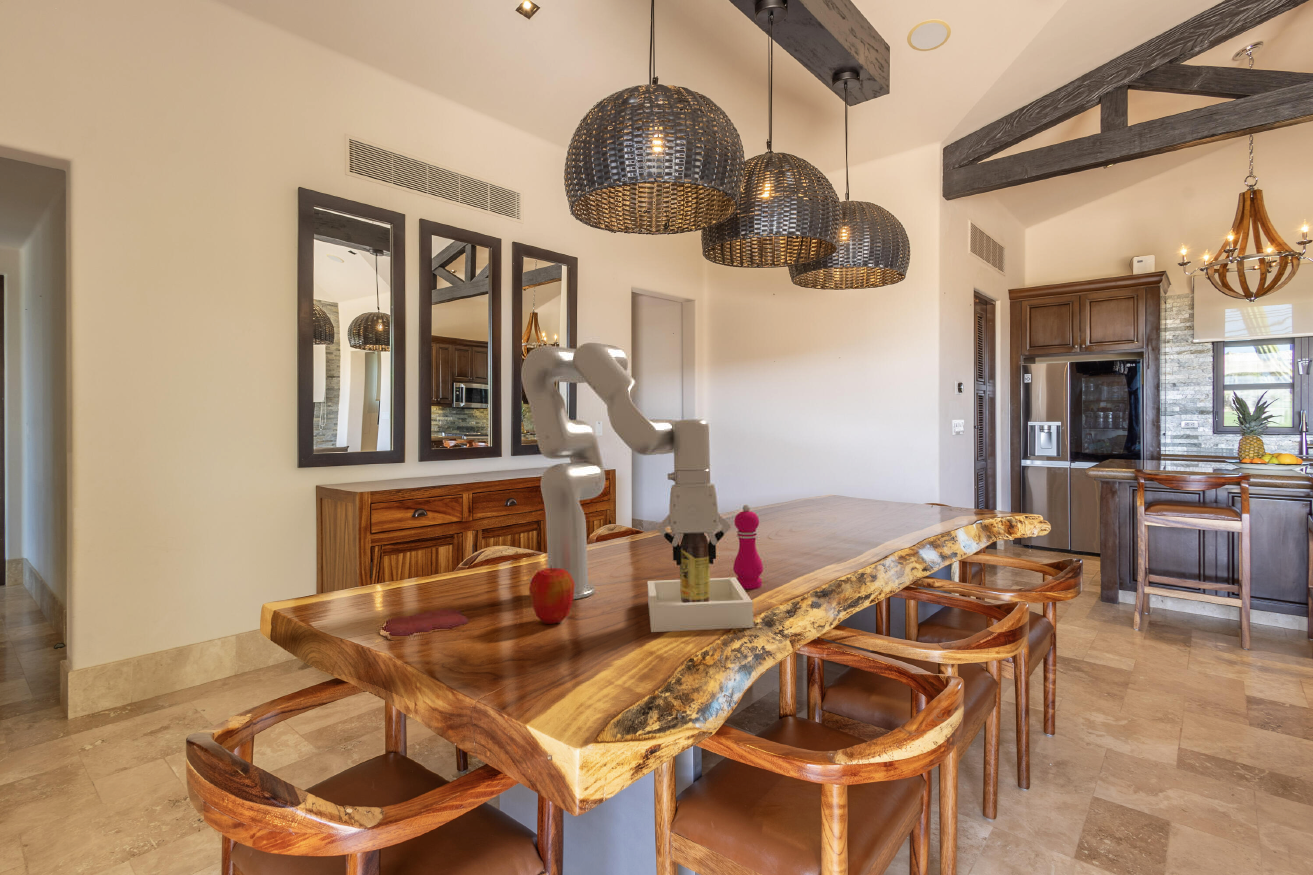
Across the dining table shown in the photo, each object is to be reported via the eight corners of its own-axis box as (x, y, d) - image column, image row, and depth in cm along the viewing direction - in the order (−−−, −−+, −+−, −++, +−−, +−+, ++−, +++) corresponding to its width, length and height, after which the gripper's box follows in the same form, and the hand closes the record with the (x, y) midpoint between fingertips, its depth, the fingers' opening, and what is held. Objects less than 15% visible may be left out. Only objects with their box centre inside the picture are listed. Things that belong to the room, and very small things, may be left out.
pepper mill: (762, 582, 156) (760, 502, 155) (764, 589, 148) (762, 506, 148) (733, 582, 156) (731, 503, 156) (734, 590, 149) (731, 507, 149)
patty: (385, 645, 119) (385, 635, 119) (373, 627, 130) (372, 618, 130) (476, 627, 128) (475, 617, 128) (457, 611, 140) (456, 603, 140)
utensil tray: (651, 632, 120) (650, 606, 120) (648, 603, 140) (647, 581, 140) (753, 627, 121) (752, 601, 121) (736, 599, 141) (735, 577, 141)
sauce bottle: (679, 599, 134) (676, 508, 133) (707, 598, 134) (705, 506, 134) (682, 608, 127) (680, 512, 127) (712, 607, 128) (710, 511, 127)
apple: (537, 632, 122) (535, 571, 122) (525, 620, 130) (523, 563, 130) (582, 624, 127) (580, 565, 126) (567, 613, 135) (565, 558, 134)
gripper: (651, 481, 126) (654, 569, 127) (736, 478, 127) (738, 565, 127) (650, 478, 134) (652, 561, 134) (730, 475, 134) (732, 558, 135)
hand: (694, 562), depth 131 cm, fingers closed on sauce bottle, 6 cm apart
